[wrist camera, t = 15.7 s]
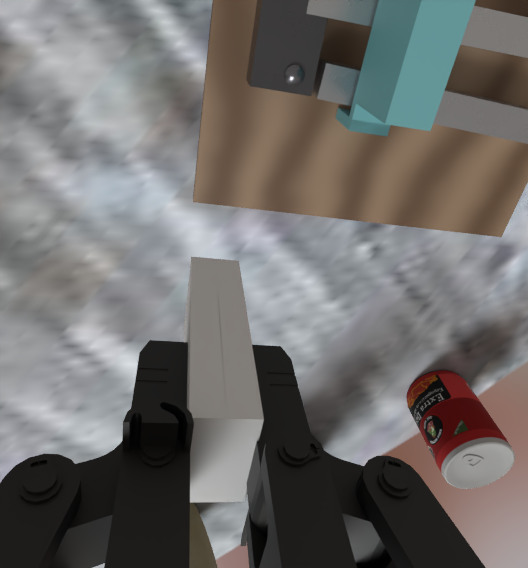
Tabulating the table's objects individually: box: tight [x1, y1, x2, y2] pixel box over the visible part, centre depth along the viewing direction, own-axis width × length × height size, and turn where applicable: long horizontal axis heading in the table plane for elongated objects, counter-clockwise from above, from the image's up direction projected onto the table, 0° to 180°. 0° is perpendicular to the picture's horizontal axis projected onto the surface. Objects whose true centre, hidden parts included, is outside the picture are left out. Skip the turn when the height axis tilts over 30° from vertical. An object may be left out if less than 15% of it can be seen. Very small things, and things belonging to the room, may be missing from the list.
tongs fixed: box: [246, 0, 528, 96], centre depth 35 cm, size 25×7×3 cm, turn 80°
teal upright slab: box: [335, 0, 476, 136], centre depth 31 cm, size 3×11×10 cm, turn 170°
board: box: [193, 0, 528, 237], centre depth 38 cm, size 30×23×1 cm
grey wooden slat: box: [312, 58, 528, 144], centre depth 37 cm, size 20×2×3 cm, turn 78°
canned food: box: [407, 370, 515, 489], centre depth 54 cm, size 8×8×11 cm
